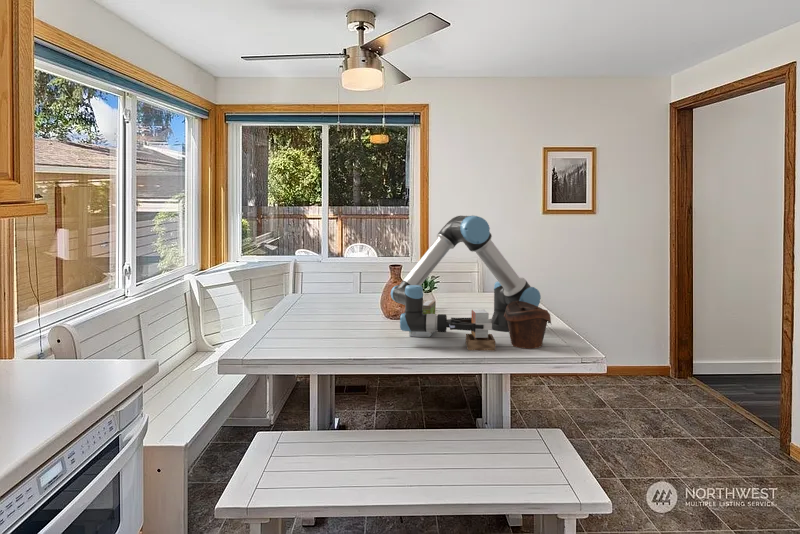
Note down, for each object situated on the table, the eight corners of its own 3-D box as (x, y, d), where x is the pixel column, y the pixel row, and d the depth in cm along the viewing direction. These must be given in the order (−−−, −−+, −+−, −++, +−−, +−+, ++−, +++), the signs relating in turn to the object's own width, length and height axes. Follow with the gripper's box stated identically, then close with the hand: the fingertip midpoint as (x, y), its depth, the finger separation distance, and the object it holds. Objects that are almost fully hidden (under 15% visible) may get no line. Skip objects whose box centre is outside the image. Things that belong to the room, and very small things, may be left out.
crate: (491, 343, 252) (491, 332, 251) (495, 350, 239) (495, 339, 238) (465, 343, 252) (465, 332, 252) (468, 350, 239) (468, 339, 239)
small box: (471, 333, 249) (471, 309, 248) (484, 333, 249) (484, 309, 248) (474, 338, 241) (475, 312, 240) (488, 337, 241) (488, 312, 240)
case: (543, 352, 235) (544, 308, 233) (496, 346, 245) (497, 304, 244) (557, 344, 250) (558, 302, 248) (512, 339, 260) (513, 299, 259)
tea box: (430, 337, 263) (431, 304, 262) (408, 336, 265) (408, 304, 264) (435, 330, 278) (435, 299, 276) (414, 329, 280) (414, 299, 278)
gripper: (438, 326, 258) (490, 328, 255) (435, 337, 237) (492, 339, 234) (438, 309, 257) (491, 310, 254) (435, 319, 236) (492, 320, 233)
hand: (491, 324), depth 244 cm, fingers closed on small box, 9 cm apart
